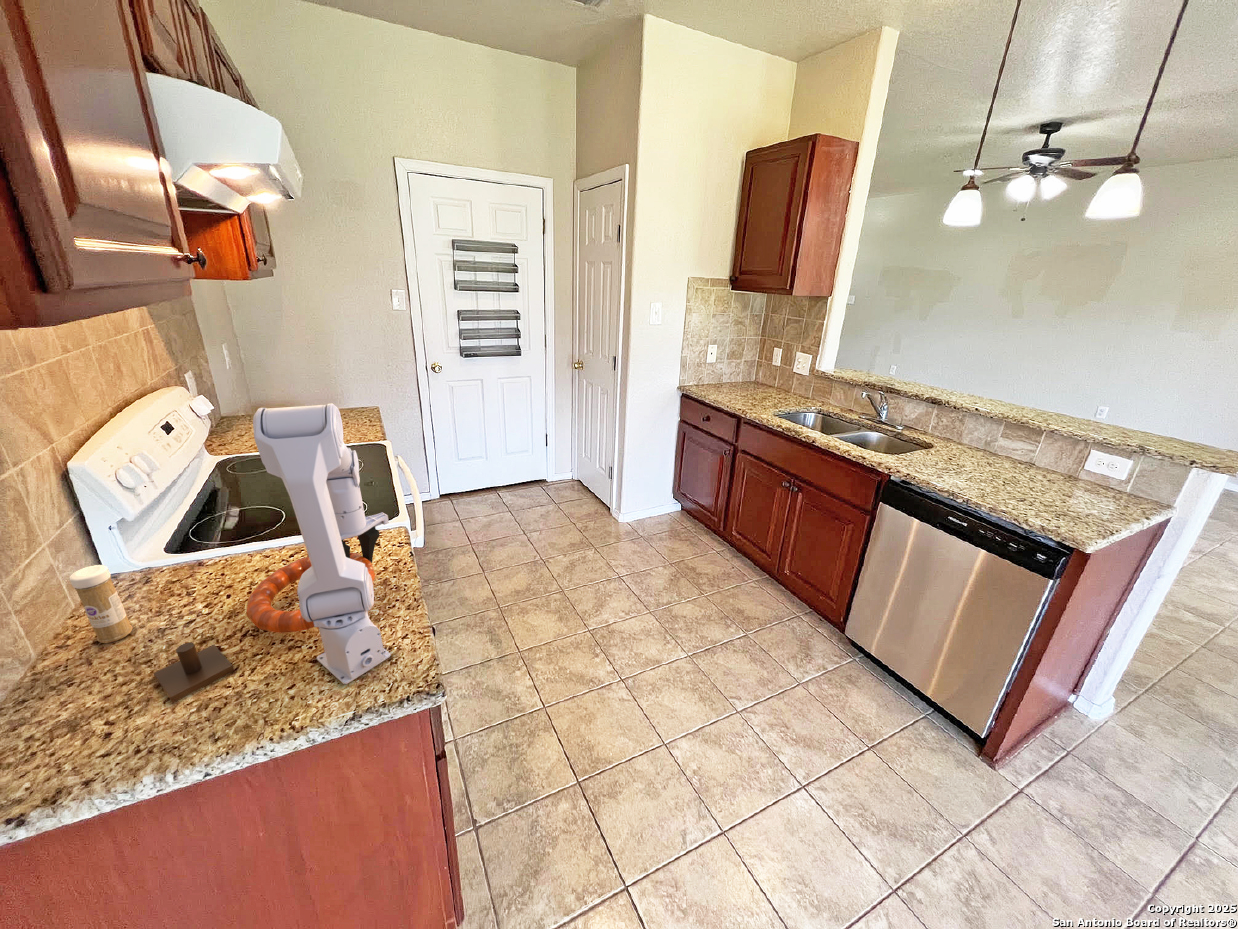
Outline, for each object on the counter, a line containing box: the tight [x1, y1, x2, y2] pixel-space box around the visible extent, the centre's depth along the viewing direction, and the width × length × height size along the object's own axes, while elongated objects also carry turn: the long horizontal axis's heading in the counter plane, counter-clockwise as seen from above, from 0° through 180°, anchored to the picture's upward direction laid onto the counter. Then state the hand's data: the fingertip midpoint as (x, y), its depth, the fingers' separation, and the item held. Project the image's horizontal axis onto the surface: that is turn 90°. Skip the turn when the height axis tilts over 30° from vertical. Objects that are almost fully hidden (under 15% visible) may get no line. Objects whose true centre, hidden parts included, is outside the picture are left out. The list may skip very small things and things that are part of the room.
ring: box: [246, 551, 376, 634], centre depth 94 cm, size 21×21×4 cm
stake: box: [153, 641, 235, 704], centre depth 78 cm, size 8×8×6 cm
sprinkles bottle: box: [68, 564, 134, 644], centre depth 84 cm, size 5×5×13 cm
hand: (358, 566), depth 101 cm, fingers closed on ring, 3 cm apart
